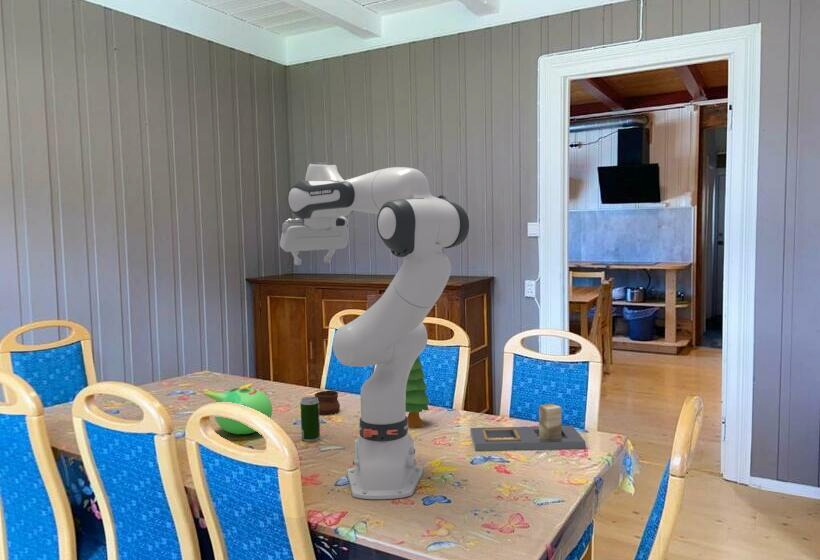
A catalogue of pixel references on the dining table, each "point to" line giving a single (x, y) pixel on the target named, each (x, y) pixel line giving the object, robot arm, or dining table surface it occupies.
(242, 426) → the green teapot
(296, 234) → the robot arm
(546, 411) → the wooden peg
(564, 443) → the grey flat plate
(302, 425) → the beer can
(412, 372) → the decorative tree
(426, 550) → the dining table surface
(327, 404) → the ceramic pot
